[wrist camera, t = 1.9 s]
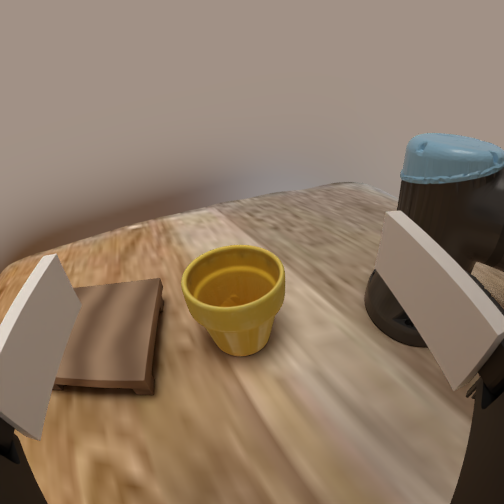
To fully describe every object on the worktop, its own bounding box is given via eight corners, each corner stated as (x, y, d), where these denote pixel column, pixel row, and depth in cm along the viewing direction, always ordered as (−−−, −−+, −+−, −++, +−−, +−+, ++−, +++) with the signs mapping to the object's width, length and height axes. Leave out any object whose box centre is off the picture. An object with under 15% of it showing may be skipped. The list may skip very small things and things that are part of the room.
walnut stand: (167, 299, 39) (160, 278, 37) (157, 398, 26) (144, 380, 24) (77, 307, 38) (66, 288, 36) (47, 391, 25) (30, 374, 23)
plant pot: (206, 304, 38) (192, 245, 32) (282, 303, 37) (282, 241, 32) (193, 368, 29) (169, 309, 24) (286, 369, 29) (288, 308, 23)
